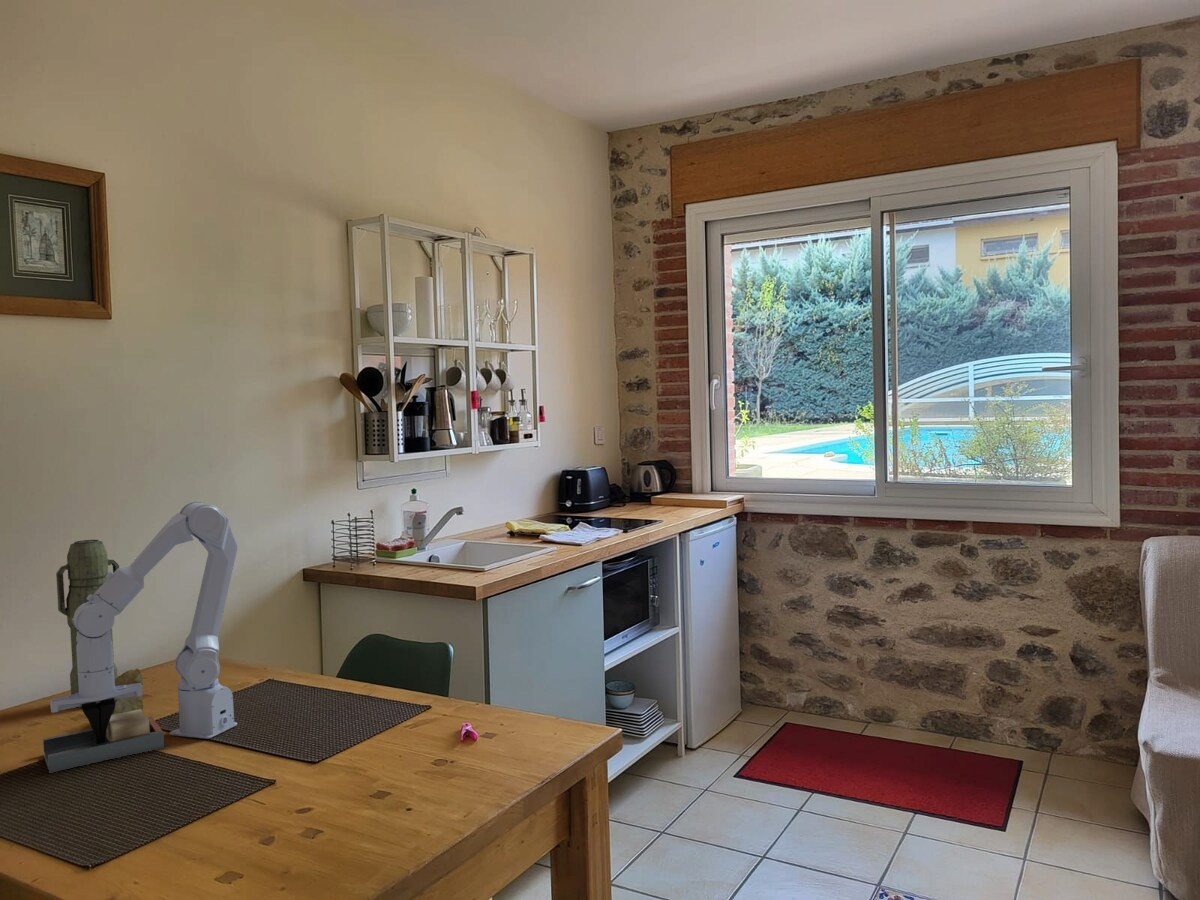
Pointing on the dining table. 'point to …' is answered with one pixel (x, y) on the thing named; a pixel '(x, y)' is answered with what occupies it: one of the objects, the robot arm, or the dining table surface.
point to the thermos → (82, 588)
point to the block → (127, 725)
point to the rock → (129, 702)
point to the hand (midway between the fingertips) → (99, 742)
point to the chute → (96, 747)
